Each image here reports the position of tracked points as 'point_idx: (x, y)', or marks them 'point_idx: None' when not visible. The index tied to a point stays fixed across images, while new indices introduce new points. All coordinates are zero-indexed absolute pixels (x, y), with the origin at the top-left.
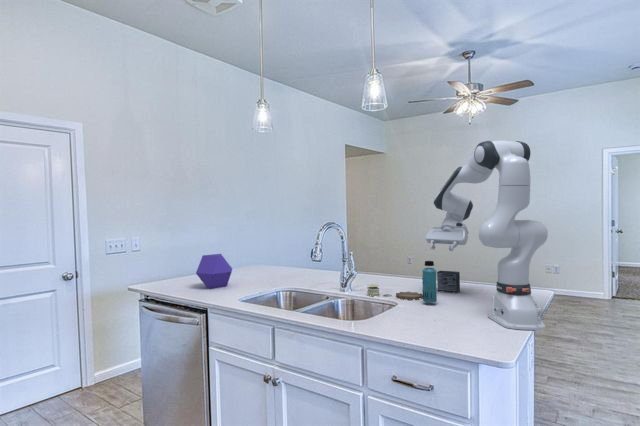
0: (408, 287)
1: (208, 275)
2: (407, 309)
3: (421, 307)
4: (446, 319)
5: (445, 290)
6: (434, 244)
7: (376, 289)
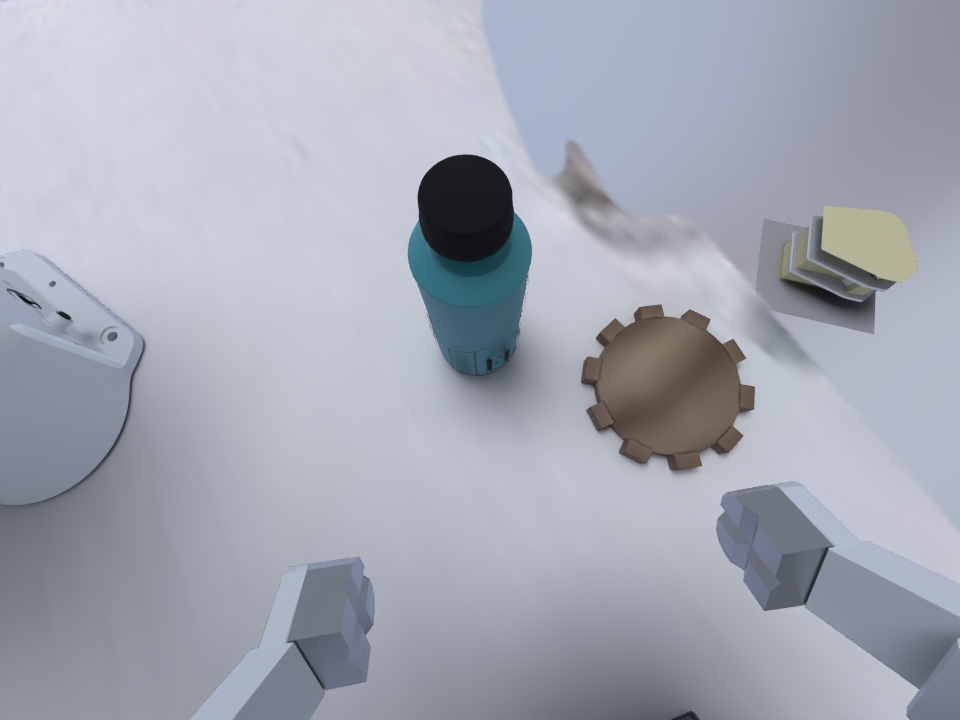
0: None
1: None
2: None
3: None
4: (271, 190)
5: None
6: (907, 710)
7: (809, 238)
